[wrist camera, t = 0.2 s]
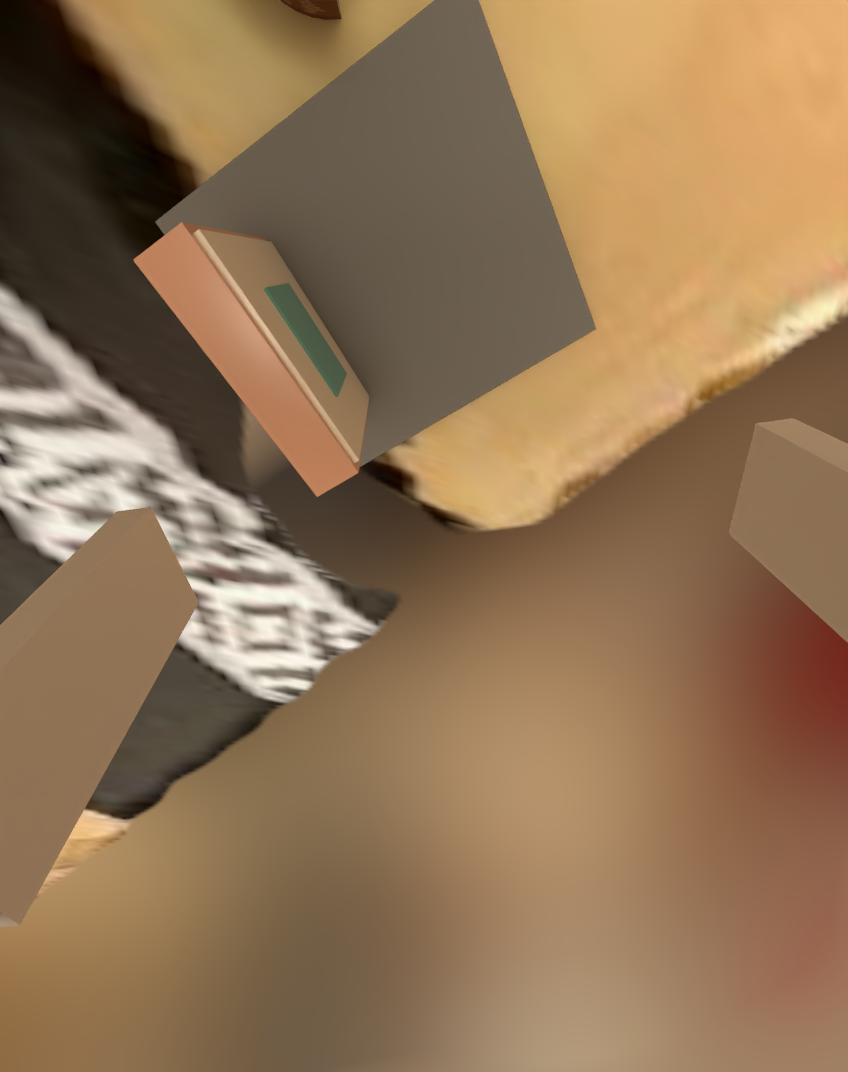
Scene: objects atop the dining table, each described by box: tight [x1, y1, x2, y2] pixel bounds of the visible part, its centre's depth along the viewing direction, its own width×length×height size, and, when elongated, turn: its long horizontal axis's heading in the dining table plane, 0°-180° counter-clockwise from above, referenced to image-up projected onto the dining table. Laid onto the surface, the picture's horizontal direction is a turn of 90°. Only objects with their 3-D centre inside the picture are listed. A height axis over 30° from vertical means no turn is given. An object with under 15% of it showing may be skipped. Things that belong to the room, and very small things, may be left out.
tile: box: [133, 222, 369, 496], centre depth 27 cm, size 12×3×14 cm, turn 30°
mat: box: [155, 0, 596, 467], centre depth 32 cm, size 20×22×1 cm
